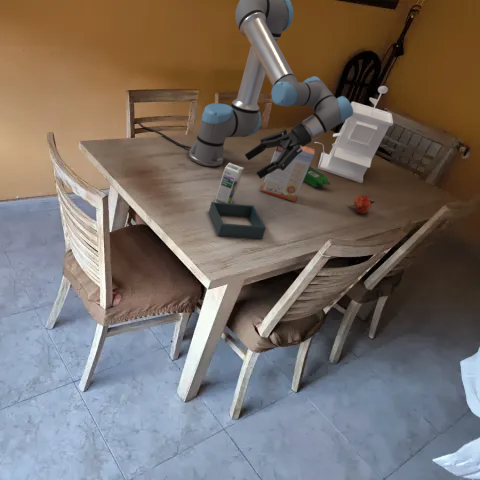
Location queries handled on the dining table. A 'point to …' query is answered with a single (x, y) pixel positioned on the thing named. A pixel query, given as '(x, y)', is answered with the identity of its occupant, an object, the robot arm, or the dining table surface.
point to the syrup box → (229, 183)
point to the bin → (235, 229)
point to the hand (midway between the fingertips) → (252, 166)
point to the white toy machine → (357, 141)
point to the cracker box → (288, 175)
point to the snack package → (315, 178)
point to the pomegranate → (362, 204)
